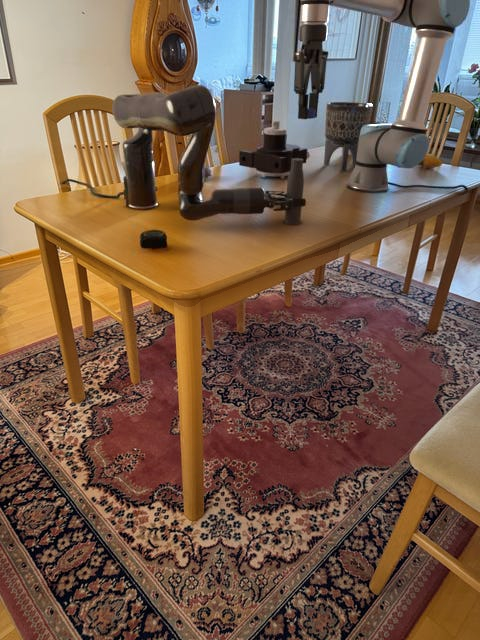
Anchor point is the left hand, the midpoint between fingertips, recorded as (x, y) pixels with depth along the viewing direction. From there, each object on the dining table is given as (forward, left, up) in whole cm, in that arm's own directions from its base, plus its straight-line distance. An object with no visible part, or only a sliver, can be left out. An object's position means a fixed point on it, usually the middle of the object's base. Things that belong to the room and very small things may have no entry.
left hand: (302, 199), depth 136 cm
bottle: (-2, -1, -7) cm, 7 cm away
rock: (-50, +40, -7) cm, 64 cm away
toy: (+42, +102, -7) cm, 111 cm away
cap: (-2, +11, +23) cm, 26 cm away
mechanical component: (-20, +63, -7) cm, 67 cm away
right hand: (-2, +11, +21) cm, 24 cm away
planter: (+4, +87, -7) cm, 87 cm away
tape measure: (-32, -35, -7) cm, 48 cm away
